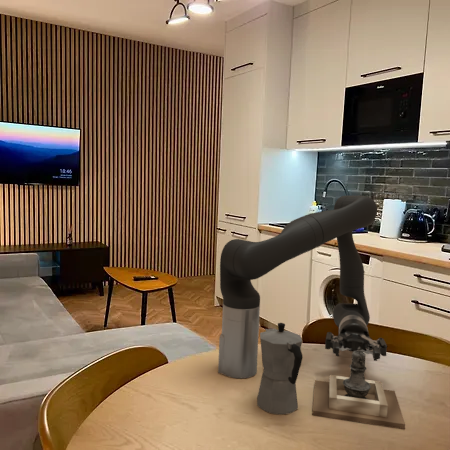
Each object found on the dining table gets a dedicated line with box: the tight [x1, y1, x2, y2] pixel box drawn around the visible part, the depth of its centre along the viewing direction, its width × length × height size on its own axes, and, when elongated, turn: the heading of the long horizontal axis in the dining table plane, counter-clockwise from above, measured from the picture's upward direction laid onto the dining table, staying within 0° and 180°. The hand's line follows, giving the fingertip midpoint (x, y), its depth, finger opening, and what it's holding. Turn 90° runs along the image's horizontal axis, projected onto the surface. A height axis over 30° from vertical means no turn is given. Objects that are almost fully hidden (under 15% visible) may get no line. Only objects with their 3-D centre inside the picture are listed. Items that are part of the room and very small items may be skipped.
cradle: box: [312, 374, 406, 430], centre depth 97 cm, size 18×15×4 cm
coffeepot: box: [256, 322, 303, 415], centre depth 95 cm, size 15×9×18 cm, turn 19°
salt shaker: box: [343, 347, 371, 399], centre depth 97 cm, size 6×6×12 cm
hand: (356, 354), depth 103 cm, fingers open, 8 cm apart
